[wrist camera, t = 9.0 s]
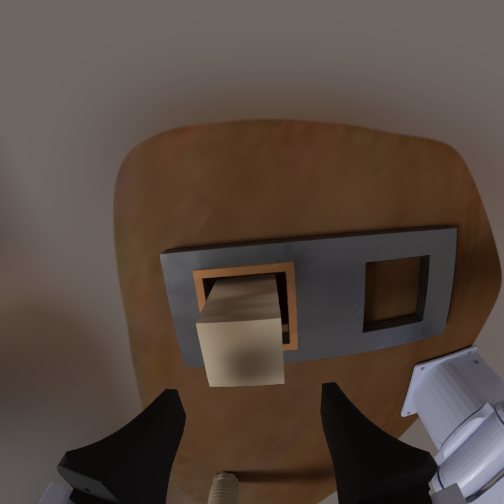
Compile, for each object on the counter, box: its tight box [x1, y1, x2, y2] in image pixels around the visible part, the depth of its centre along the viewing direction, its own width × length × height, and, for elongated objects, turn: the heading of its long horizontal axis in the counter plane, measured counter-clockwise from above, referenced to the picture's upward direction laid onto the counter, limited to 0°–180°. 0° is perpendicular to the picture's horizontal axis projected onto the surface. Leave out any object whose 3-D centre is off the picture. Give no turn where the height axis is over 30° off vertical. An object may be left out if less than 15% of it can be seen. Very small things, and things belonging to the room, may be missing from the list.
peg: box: [196, 274, 284, 387], centre depth 18 cm, size 4×4×8 cm
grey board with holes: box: [160, 225, 457, 367], centre depth 21 cm, size 24×10×2 cm, turn 96°
